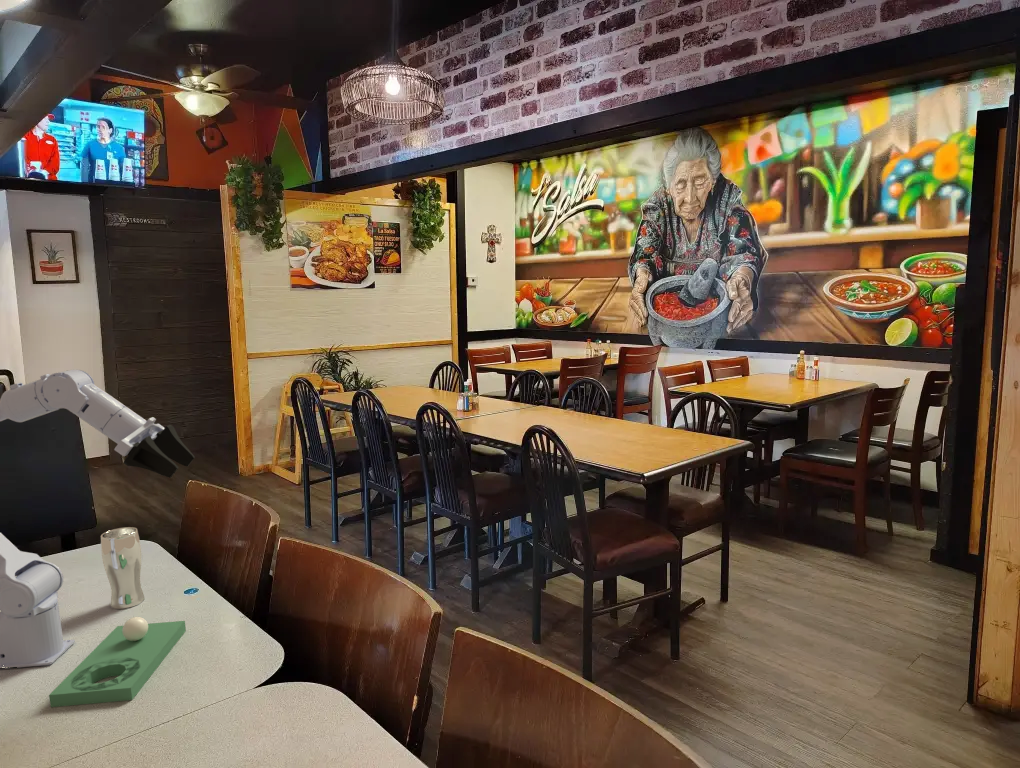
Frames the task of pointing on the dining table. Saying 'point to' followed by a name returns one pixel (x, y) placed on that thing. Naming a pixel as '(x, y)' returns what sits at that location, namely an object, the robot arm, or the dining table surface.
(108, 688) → the putting mat
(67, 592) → the dining table surface
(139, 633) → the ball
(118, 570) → the beer glass
